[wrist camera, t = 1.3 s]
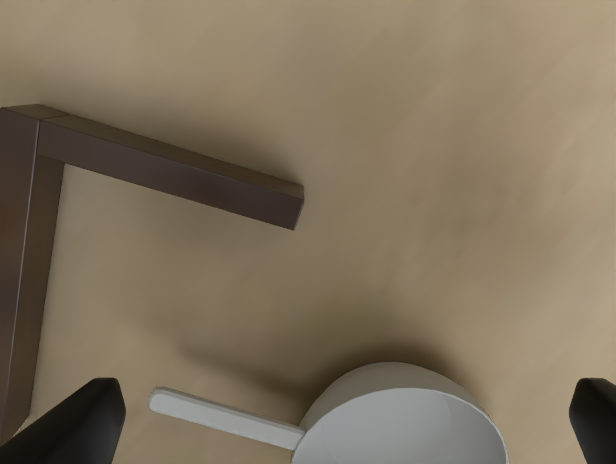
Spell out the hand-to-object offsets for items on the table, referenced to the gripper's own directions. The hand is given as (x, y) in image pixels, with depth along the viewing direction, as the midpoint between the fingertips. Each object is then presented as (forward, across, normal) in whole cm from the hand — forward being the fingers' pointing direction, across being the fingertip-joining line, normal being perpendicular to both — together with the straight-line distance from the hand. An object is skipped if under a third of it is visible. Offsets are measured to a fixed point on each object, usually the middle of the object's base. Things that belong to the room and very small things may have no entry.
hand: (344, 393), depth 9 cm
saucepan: (+12, 0, +12) cm, 17 cm away
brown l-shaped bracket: (+12, +10, +6) cm, 16 cm away
